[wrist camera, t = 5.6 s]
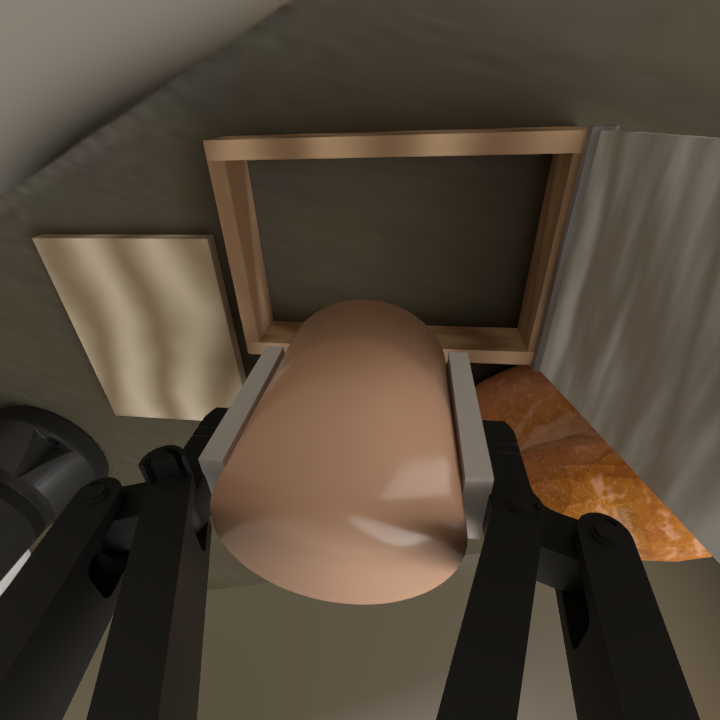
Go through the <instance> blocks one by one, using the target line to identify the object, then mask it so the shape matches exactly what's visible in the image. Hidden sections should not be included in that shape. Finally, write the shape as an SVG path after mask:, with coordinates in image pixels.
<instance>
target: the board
mask: <svg viewBox="0 0 720 720" xmlns="http://www.w3.org/2000/svg"><path fill="white" fill-rule="evenodd" d="M32 239H33V241H34V243H35V246H36V248H37V250H38V252H39V254H40V256H41V258H42V260H43V263H44V265H45V267H46V269H47V271H48V273H49V275H50V277H51V279H52V282H53V284H54V286H55V288H56V290H57V292H58V294H59V296H60V298H61V301H62V303H63V305H64V307H65V309H66V311H67V313H68V315H69V317H70V320H71V322H72V324H73V326H74V328H75V330H76V332H77V334H78V337H79V339H80V341H81V343H82V345H83V347H84V349H85V351H86V353H87V356H88V358H89V360H90V362H91V364H92V366H93V368H94V370H95V372H96V375H97V377H98V379H99V381H100V383H101V385H102V387H103V389H104V391H105V394H106V396H107V398H108V400H109V402H110V404H111V406H112V408H113V411H114V413H115V415H118V416H134V417H151V418H167V419H183V420H200V421H202V420H203V418H204V417H205V416H206V415H207V414H208V413H210V412H211V411H212V410H213V409H215V408H216V407H221V408H229V407H230V406H231V404H232V402H233V401H234V399H235V397H236V396H237V394H238V392H239V391H240V389H241V388H242V386H243V384H244V383H245V381H246V376H245V371H244V367H243V362H242V358H241V354H240V349H239V345H238V340H237V336H236V332H235V327H234V323H233V318H232V314H231V310H230V305H229V301H228V296H227V292H226V288H225V283H224V279H223V274H222V270H221V266H220V261H219V257H218V252H217V248H216V244H215V239H214V235H110V234H42V235H40V236H37V237H34V238H32Z"/></svg>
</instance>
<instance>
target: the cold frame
mask: <svg viewBox="0 0 720 720" xmlns="http://www.w3.org/2000/svg"><path fill="white" fill-rule="evenodd" d="M619 127H620V126H617V125H601V126H588V128H587V127H581V126H560V127H525V128H490V129H455V130H419V131H384V132H349V133H314V134H279V135H244V136H224V137H219V138H213V139H208V140H203V144H204V149H205V154H206V158H207V163H208V168H209V172H210V177H211V182H212V186H213V191H214V196H215V200H216V205H217V210H218V214H219V219H220V224H221V228H222V233H223V238H224V242H225V247H226V252H227V256H228V261H229V266H230V270H231V275H232V279H233V284H234V289H235V293H236V298H237V303H238V307H239V312H240V317H241V321H242V326H243V331H244V335H245V340H246V345H247V349H248V354H262V353H263V351H264V350H265V348H266V346H281V347H284V352H286V351H287V349H288V347H289V345H290V343H291V341H292V339H293V337H294V336H295V334H296V332H297V331H298V329H299V328H300V327H301V325H302V324H303V323H304V322H290V321H273V315H272V309H271V303H270V297H269V291H268V285H267V279H266V273H265V267H264V261H263V255H262V249H261V243H260V237H259V231H258V225H257V219H256V213H255V207H254V200H253V194H252V188H251V182H250V176H249V170H248V164H247V160H273V159H321V158H369V157H418V156H466V155H514V154H553V157H552V161H551V166H550V171H549V176H548V181H547V186H546V191H545V195H544V200H543V205H542V210H541V215H540V220H539V225H538V230H537V234H536V239H535V244H534V249H533V254H532V259H531V264H530V268H529V273H528V278H527V283H526V288H525V293H524V298H523V302H522V307H521V312H520V317H519V322H518V327H517V328H496V327H461V326H428V327H429V328H430V330H431V331H432V332H433V333H434V335H435V336H436V338H437V339H438V341H439V343H440V345H441V347H442V349H443V352H444V355H445V360H446V362H448V354H449V352H464V353H468V357H469V362H470V363H491V364H516V365H531V366H530V367H531V369H532V371H533V372H542V373H543V374H544V375H545V376H546V378H547V379H548V380H549V381H550V382H551V383H552V384H553V385H554V386H555V387H556V388H557V389H558V390H559V391H560V393H561V394H562V395H563V396H564V397H565V398H566V399H567V400H568V401H569V402H570V403H571V404H572V405H573V407H574V408H575V409H576V410H577V411H578V412H579V413H580V414H581V415H582V416H583V417H584V418H585V419H586V420H587V422H588V423H589V424H590V425H591V426H592V427H593V428H594V429H595V430H596V431H597V432H598V433H599V434H600V436H601V437H602V438H603V439H604V440H605V441H606V442H607V443H608V444H609V445H610V446H611V447H612V448H613V449H614V451H615V452H616V453H617V454H618V455H619V456H620V457H621V458H622V459H623V460H624V461H625V462H626V463H627V465H628V466H629V467H630V468H631V469H632V470H633V471H634V472H635V473H636V474H637V475H638V476H639V477H640V478H641V480H642V481H643V482H644V483H645V484H646V485H647V486H648V487H649V488H650V489H651V490H652V491H653V492H654V494H655V495H656V496H657V497H658V498H659V499H660V500H661V501H662V502H663V503H664V504H665V505H666V506H667V508H668V509H669V510H670V511H671V512H672V513H673V514H674V515H675V516H676V517H677V518H678V519H679V520H680V521H681V523H682V524H683V525H684V526H685V527H686V528H687V529H688V530H689V531H690V532H691V533H692V534H693V535H694V537H695V538H696V539H697V540H698V541H699V542H700V543H701V544H702V545H703V546H704V547H705V548H706V549H707V550H708V552H709V553H710V554H711V555H712V556H713V557H714V558H715V559H716V560H717V561H718V562H719V563H720V138H716V137H703V136H690V135H676V134H663V133H650V132H637V131H623V130H619Z"/></svg>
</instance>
